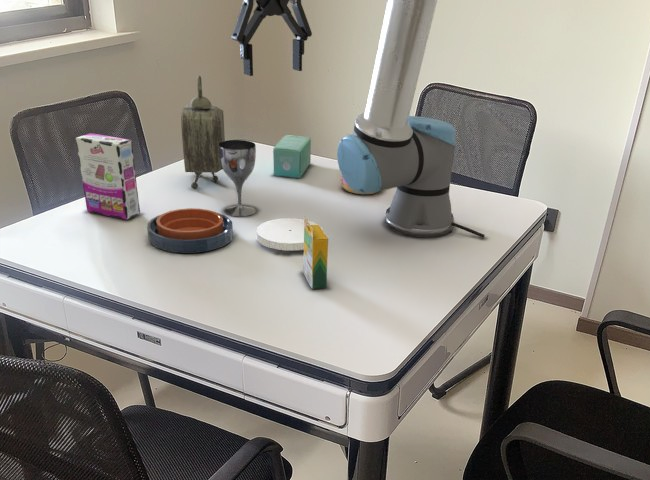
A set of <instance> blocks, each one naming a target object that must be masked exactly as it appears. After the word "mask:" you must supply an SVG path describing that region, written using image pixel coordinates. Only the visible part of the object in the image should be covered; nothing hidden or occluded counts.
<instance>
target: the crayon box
mask: <svg viewBox="0 0 650 480" xmlns="http://www.w3.org/2000/svg"><path fill="white" fill-rule="evenodd" d="M303 220H304V250H303V259H302V262H303V264H302V274H303V275H304V277H305V279H306V281H307V284H308V285H309V286H310V289H311V290H319V289H326V288H327V281H328V280H327V277H328V258H329V257H328V254H329V238H328V237H327V235H326V233H325V232H323V231H324V230H323V231H322V229H321V228H320V226H321V225H320V226H319V224H318V225H310V223H309V222H308V221H309V220H308V218H307V217H306V216H303ZM307 224H308V225H307Z"/></svg>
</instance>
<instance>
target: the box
mask: <svg viewBox="0 0 650 480" xmlns="http://www.w3.org/2000/svg"><path fill="white" fill-rule="evenodd" d="M311 145H312V138H311V137H310V136H300V135H292V134H291V135H290V134H285V135H284V136H283V137H282V138H281V139H280V140H279V141H278V142H277V143H276V144H275V145H274V147H273V149H272V157H273V158H272V159H273V161H272V162H273V164H272V165H273V176H274V177H284V178H292V179H293V178H294V179H301V178H302V177H303V175H304V174H305V172H306V170H307V169H308V167H309V166H310V164H311V162H312V161H311V156H312V155H311V152H312V151H311V147H312V146H311Z"/></svg>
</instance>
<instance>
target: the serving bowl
mask: <svg viewBox="0 0 650 480" xmlns="http://www.w3.org/2000/svg"><path fill="white" fill-rule="evenodd" d="M217 213H218V214H220V215H221V216H222V218H223V225H224V232H223V233H220V234H218V235H215V236H211V237H207V238H201V239H173V238H168V237H164V236H161V235H158V234H157V226H156V220H157V218H158V217H159V216H160V215H162V214H163V213H161V214H159V215H156V216H154V217H153V218H151V219H150V220H149V221H148V222H147V225H146V229H147V230H146V231H147V238H148V241H149V243H150V244H151V245H153V246H154V247H155V248H158V249H161V250H164V251H167V252H173V253H182V254H194V253H195V254H196V253H203V252H208V251H213V250H216V249H217V250H218V249H219V248H222V247H225V246H226V245H227V244H229V243H231V241H232V240H233V238H234V230H233V228H234V227H233V221H232V220H231V218H230V217H229V216H226V215H225V214H222V213H219V212H217Z"/></svg>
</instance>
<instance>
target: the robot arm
mask: <svg viewBox="0 0 650 480" xmlns="http://www.w3.org/2000/svg"><path fill="white" fill-rule="evenodd" d="M289 3H290V5H291V9H292V11H293V14H294V16H293V14H292V11H291V9H290V8H289V7H288V4H289ZM437 3H438V0H386V6H385V11H384V15H383V20H382V24H381V25H382V26H381V29H380V30H381V31H380V35H379V36H380V37H379V40H378V45H377V51H376V55H375V60H374V66H373V71H372V74H371V81H370V85H369V90H368V95H367V100H366V105H365V109H364V112H362V113H361V114H359V115H357V117H356V118H355V121H354V126H353V132H352V134H350V133H349V134H346V135H345V136H344V137H342V138H341V139H340V140H339V142H338V145H337V151H336V158H337V165H338V169H339V171H340V174H341V177H342V176H343V178H344V180H345V182H346V183H347V184H348V186H349V187H350V188H351V189H353V190H354V191H356V192H358V193H370V192H373V193H374V194H376V192H377V193H379V192H380V191H381V192H382V191H386V190H390V189H394V188H395V191H394V195H393V197H392V200H391V201H390V206H389V207H388V208H386V210H385V226H386V227H387V228H388V229H390V230H391V231H393V232H396V233H397V234H401V235H404V236H409V237H414V238H436V237H441V236H445V235H448V234H450V233H451V232H452V231H453V229H454V227H455V228H457V229H460V230H463V231H465V232H468V233H470V234H473V235H475V236H477V237H479V238H485V234H484V233H482V232H479V231H476V230H474V229H472V228H470V227H467V226H464V225H461V224H459V223H456V222H455V218H454V213H452V205H451V198H450V189H451V188H450V187H451V180H452V173H453V164H454V156H455V149H456V134H457V133H456V128H455V126H453V125H452V124H451V123H449V122H447V121H443V120H439V119H435V118H432V117H425V116H416V115H410V114H411V110H412V106H413V103H414V98H415V94H416V89H417V87H418V82H419V77H420V73H421V69H422V65H423V61H424V57H425V53H426V48H427V45H428V40H429V35H430V32H431V28H432V25H433V20H434V16H435V12H436V8H437ZM254 5H256V6H255V8H254ZM240 7H241V8H240V11H239V13H238V16H237V18H236V22H235V25H234V28H233V31H232V34H231V36H230V37H231V40H233V41H235V42H238V43H239V56H240V59H241V60H242V63H243V65H242V66H243V75H246V76H249V77H253V76H254V66H253V65H254V59H253V58H254V55H253V44H252V43H250V42H251V40H252V38H253V36H254V35H255V33H256V32H257V31H258V28H259V27H260V25H261V23H262V22H263V20H264V19H266V17H273V16H278V17H279V16H280V17H282V19H283V20H284V22H285V23H286V25H287V27H288V28H289V30H290V31H291V32H292V34H293V37H295V38H293V39H292V70H294V71H298V72H303V55H305V42H306V41H307V40H308V39H309V38H310V37H312V36H313V32H312V29H311V25H310V23H309V21H308V18H307V15H306V13H305V10H304V7H303V5H302V0H242V4H241V6H240ZM253 9H254V10H253ZM252 11H253V13H252ZM251 15H252V16H251ZM378 191H379V192H378Z"/></svg>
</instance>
